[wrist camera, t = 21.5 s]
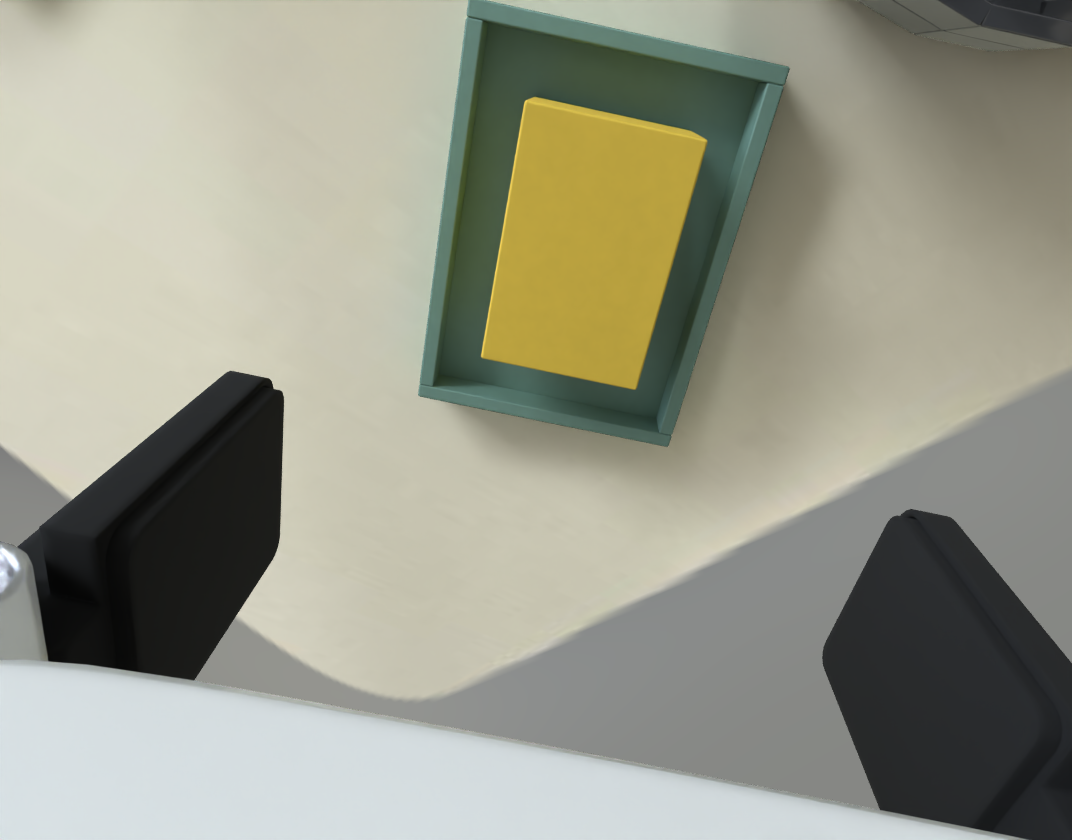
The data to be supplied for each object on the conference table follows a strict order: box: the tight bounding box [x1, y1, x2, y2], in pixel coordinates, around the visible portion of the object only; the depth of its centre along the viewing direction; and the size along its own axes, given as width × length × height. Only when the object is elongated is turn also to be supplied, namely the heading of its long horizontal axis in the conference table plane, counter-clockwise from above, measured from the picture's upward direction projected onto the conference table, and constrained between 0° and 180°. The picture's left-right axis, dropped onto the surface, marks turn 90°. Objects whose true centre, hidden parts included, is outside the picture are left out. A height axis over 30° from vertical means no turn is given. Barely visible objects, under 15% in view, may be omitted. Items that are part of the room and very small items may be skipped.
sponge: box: [481, 96, 707, 390], centre depth 26 cm, size 9×6×4 cm, turn 169°
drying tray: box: [418, 0, 790, 447], centre depth 28 cm, size 15×11×2 cm
